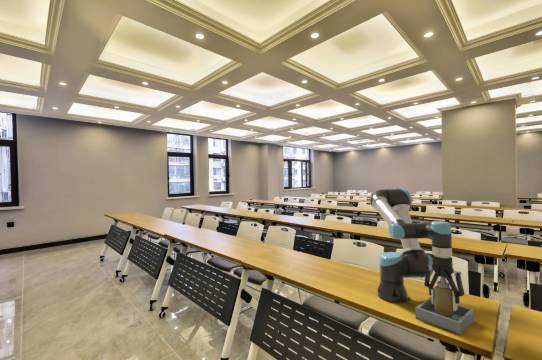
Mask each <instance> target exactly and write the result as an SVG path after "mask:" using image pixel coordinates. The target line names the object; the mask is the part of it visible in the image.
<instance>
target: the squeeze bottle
mask: <svg viewBox="0 0 542 360" xmlns="http://www.w3.org/2000/svg"><path fill="white" fill-rule="evenodd" d="M436 283H437V285H436V286H434V288H435V295H434V307H435V310H436V312H437V314H439V315H442V316H444V317H447V318H450V317H452V316H453V314H454V311H453V295H454V293H453V291H452V289H451V287H450V284H449V282H448V281H447V279H446V278H444V277H440V279H439V280H437V281H436Z"/></svg>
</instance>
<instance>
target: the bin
mask: <svg viewBox="0 0 542 360" xmlns="http://www.w3.org/2000/svg"><path fill="white" fill-rule="evenodd" d="M414 309H415V311H414V312H415V319H416V320H419V321H421V322H424V323H426V324H429V325H432V326H434V327H438V328H439V329H442V330H444V331H447V332H450V333H452V334H456V335H457V336H459V337H461V336H462V335H463V334H464V333H465V332H466V331H467V330H469V328H470V327H471V326H472V325H473V324H474V323H475V322H476V315H475V312H476V311H475V309H474V308H470V307H467V306H463V305H460V304H457V310H456V311H454V314H453V316H452V317H450V318H447V317H444V316H442V315H439V314H437V312H436V310H435V307H434V304H432V301H431V296H430V297H429V298H427V299H426V300H424V301H423V302H422V303H421V302H420V304H418V305H417V306H415V307H414Z"/></svg>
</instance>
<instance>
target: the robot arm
mask: <svg viewBox="0 0 542 360" xmlns="http://www.w3.org/2000/svg"><path fill="white" fill-rule="evenodd" d="M412 199H413V197H412V195H411V193H410V192H409V191H408V190H407V189H406V188H405V189H404V188H389V189H387V188H386V189H384V188H383V189H381V188H380V189H377V190H375V191H374V192H373V193H372V195H371V196H370V199H369V203H370V206H371V207H372V209H374V210H375V211H377V212H378V214H379V215H380V217H382V219H383V220H384V222H385V223H386V224H387V225H388V233H389V237H390V238H392V239H395V240H400V242H401V245H402V249H403V251H402V252H398V251H395V252H394V251H388V252H384V253H382V254H381V255H380V256H379V275H380V276H379V277H380V280H379V281H380V282H379V284H378V288H377V296H378V297H379V298H380V299H381V300H384V301H387V302H389V303H390V302H391V303H404V302H405V303H406V302H407V301H408V300H409V293H408V291H407V288H406V286H405V282H404V281H405V280H404V278H408V279H410V278H421V279H423V278H424V284H423V286H424V287H427V288H428V295H429V296H430V297H431V301H432V304H434V295H435V285H436V283H437V282H438V279H439V277H440V278H441V277H444V278H445V279H446V282H448V283H449V286H450V288H451V289H452V293H453V311H456V310H457V305H459V304H460V302H461V300H460V297H464V296H465V288H464V285H463V280H462V272H461V271H457V270H454V265H453V248H452V246H453V245H452V244H453V243H452V232H453V231H452V227H451V223H449V222H448V221H444V220H434V221H431V222H429V221H420V222H415V223H414V222H413V220H412V217H411V215H410V208H411V206H412V203H413V201H412ZM419 239H429V240H431V249H432V251H431V254H432V257H431V255H429V254H426V251H425V249H424V248H422V247H421V245H420V243H419ZM433 273H434V274H433ZM452 274H453V275H454V277H455V281H456V282H455V281H454V279H453V275H452ZM432 275H433V277H432V279H431V276H432Z"/></svg>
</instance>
